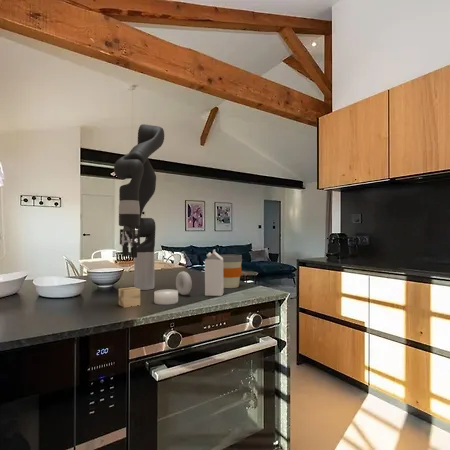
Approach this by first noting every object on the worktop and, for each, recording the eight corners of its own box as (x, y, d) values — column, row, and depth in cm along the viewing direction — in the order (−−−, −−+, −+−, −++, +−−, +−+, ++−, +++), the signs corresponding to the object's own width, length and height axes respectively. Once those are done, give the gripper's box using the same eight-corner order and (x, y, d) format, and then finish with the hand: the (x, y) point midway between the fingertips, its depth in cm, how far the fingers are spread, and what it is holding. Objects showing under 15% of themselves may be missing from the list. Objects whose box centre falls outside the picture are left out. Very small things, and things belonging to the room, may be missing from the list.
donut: (193, 296, 141) (193, 272, 141) (186, 297, 139) (186, 272, 139) (181, 292, 149) (180, 269, 149) (174, 293, 147) (173, 270, 147)
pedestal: (150, 301, 131) (150, 291, 131) (171, 298, 136) (171, 288, 136) (160, 305, 124) (160, 294, 124) (182, 302, 129) (182, 291, 129)
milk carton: (223, 292, 148) (223, 249, 148) (221, 296, 141) (221, 250, 141) (207, 292, 148) (207, 249, 149) (204, 296, 141) (204, 250, 142)
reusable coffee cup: (214, 288, 159) (214, 256, 159) (219, 284, 171) (218, 254, 172) (240, 289, 157) (240, 256, 157) (243, 284, 169) (243, 254, 170)
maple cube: (118, 304, 126) (118, 288, 126) (134, 302, 130) (134, 287, 130) (124, 307, 122) (124, 291, 122) (140, 305, 125) (140, 289, 125)
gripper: (146, 212, 123) (146, 257, 122) (132, 214, 134) (132, 255, 134) (126, 212, 118) (126, 258, 118) (112, 213, 130) (113, 256, 129)
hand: (129, 257), depth 126 cm, fingers open, 8 cm apart
